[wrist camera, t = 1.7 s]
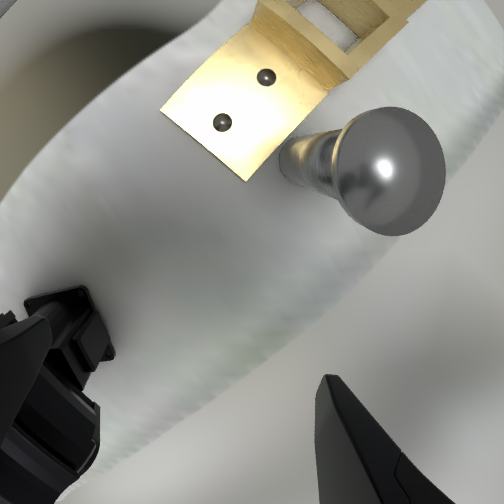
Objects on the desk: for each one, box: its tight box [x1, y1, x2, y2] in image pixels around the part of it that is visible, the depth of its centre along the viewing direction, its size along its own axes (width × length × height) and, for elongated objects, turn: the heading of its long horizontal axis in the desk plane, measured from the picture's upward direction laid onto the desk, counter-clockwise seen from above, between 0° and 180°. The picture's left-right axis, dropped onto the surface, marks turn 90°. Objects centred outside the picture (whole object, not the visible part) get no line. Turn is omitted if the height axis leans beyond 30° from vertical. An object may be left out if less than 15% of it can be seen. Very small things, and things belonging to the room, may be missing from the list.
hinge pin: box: [279, 107, 446, 236], centre depth 14 cm, size 4×4×12 cm
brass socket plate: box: [161, 0, 427, 181], centre depth 15 cm, size 23×7×4 cm, turn 138°
